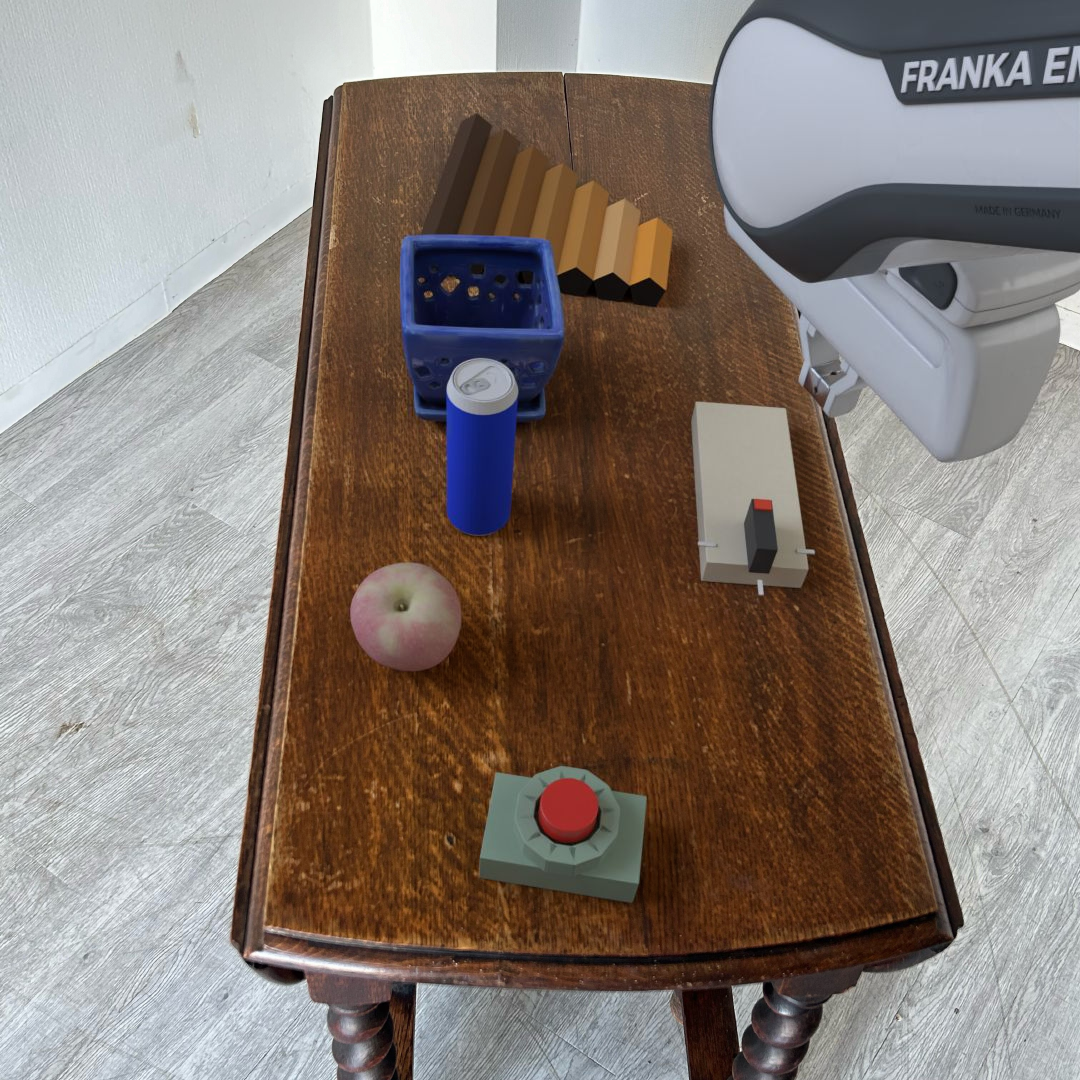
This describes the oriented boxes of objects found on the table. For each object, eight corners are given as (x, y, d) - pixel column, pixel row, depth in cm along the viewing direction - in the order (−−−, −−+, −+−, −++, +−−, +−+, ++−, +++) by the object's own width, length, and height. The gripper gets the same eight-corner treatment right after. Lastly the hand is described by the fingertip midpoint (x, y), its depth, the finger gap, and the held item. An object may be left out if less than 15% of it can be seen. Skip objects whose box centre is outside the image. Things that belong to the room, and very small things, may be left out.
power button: (598, 795, 71) (601, 782, 70) (592, 847, 69) (595, 835, 67) (542, 786, 71) (544, 773, 70) (534, 838, 69) (536, 826, 67)
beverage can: (484, 482, 93) (489, 346, 82) (522, 520, 91) (533, 385, 79) (434, 510, 91) (432, 373, 79) (472, 550, 89) (476, 415, 77)
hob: (812, 618, 87) (821, 598, 84) (695, 610, 86) (701, 590, 84) (786, 428, 100) (793, 407, 98) (684, 420, 100) (689, 399, 98)
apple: (333, 661, 81) (323, 596, 75) (394, 591, 86) (390, 524, 79) (423, 713, 79) (420, 650, 73) (481, 638, 83) (484, 573, 77)
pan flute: (460, 138, 126) (413, 272, 110) (461, 110, 124) (412, 243, 108) (679, 168, 125) (662, 307, 109) (683, 140, 123) (668, 279, 107)
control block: (640, 814, 75) (651, 779, 71) (632, 907, 71) (642, 876, 67) (495, 790, 76) (497, 755, 72) (477, 881, 72) (479, 849, 68)
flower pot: (545, 339, 105) (554, 232, 96) (556, 439, 97) (567, 333, 88) (404, 338, 104) (399, 230, 95) (403, 440, 96) (398, 333, 87)
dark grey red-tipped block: (769, 574, 86) (778, 547, 83) (748, 572, 86) (757, 546, 83) (763, 524, 89) (772, 497, 86) (743, 523, 89) (752, 496, 86)
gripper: (723, 66, 54) (677, 295, 64) (1002, 325, 42) (890, 551, 53) (830, 45, 56) (768, 271, 66) (1124, 287, 44) (993, 513, 55)
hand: (824, 398), depth 60 cm, fingers closed
